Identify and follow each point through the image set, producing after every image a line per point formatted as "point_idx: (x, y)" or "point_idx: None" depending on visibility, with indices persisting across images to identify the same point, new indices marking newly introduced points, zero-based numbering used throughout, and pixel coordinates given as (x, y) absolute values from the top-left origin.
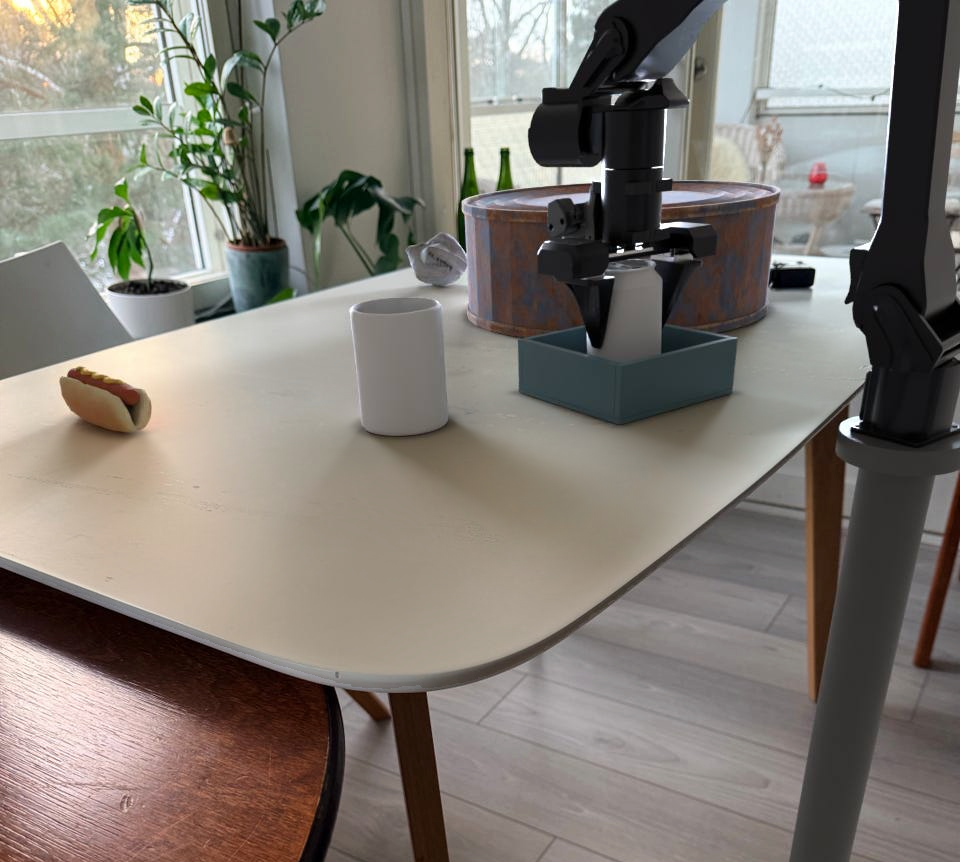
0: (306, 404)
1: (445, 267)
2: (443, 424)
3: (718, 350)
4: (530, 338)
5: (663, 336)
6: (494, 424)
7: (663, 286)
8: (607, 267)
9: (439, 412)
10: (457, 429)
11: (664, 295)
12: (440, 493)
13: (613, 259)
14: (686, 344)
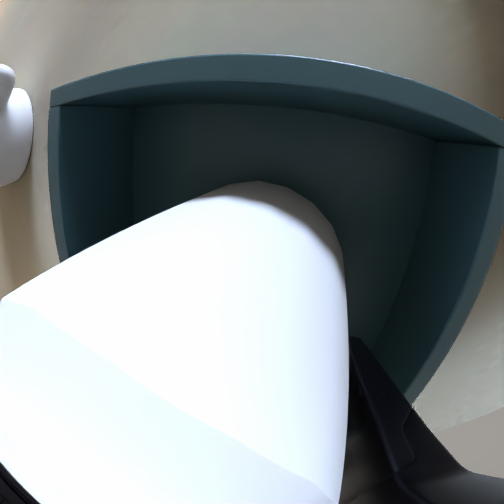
0: (15, 24)
1: None
2: (21, 175)
3: None
4: (65, 101)
5: (438, 300)
6: (49, 208)
7: (346, 490)
8: (46, 457)
9: (7, 182)
10: (27, 191)
11: (343, 467)
12: (12, 291)
13: (25, 492)
14: (400, 364)
